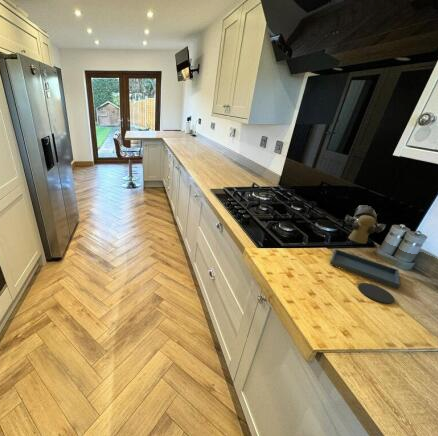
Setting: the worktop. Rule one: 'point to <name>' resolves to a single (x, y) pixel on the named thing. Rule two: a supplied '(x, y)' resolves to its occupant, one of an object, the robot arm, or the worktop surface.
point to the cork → (362, 229)
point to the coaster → (376, 293)
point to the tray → (366, 268)
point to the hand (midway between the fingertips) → (363, 229)
